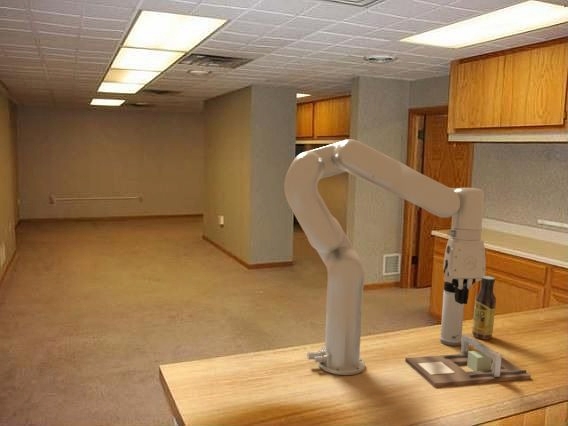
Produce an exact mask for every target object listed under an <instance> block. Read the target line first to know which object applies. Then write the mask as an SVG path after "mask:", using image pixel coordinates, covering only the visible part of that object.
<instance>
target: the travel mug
mask: <svg viewBox="0 0 568 426" xmlns="http://www.w3.org/2000/svg"><path fill="white" fill-rule="evenodd" d="M443 286H444V287H443V295H442V310H441V324H440V325H441V326H440V338H439V341H440V343H442V344H443V345H445V346H451V347H458V346H460V345H461V342H462V334H463V325H464V324H463V323H464V311H465V310H464V309H465V304H460V303H458V302H456V301H455V287H454V286H453V284H452V283H450V282H446V281H444V285H443Z"/></svg>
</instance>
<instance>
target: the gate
mask: <svg viewBox="0 0 568 426" xmlns="http://www.w3.org/2000/svg"><path fill="white" fill-rule="evenodd" d="M469 346H472V347H473V348H475V349H476V350H477V351H481V352H482V353H484V354H486V355H487V356H489V357H490V358H492V359H493V362H492V364H491V370H492V376H494V377H499V376H500V368H501V357H502V356H503V355H501V354H500V353H499V352H498V353H497V351H496V350H494V349H492V348H491V347H488V346H487V345H486V344H484V343H482V342H480V341H479V340H477V339H476V338H475V337H474V336H473V337H472V335H469V334H468V333H465V334H463V333H462V339H461V346H460V354H462V355H463V354H468V351H469Z"/></svg>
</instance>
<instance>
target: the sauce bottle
mask: <svg viewBox="0 0 568 426" xmlns="http://www.w3.org/2000/svg"><path fill="white" fill-rule="evenodd" d="M480 282H481V284H480V289H479V291H478V294H477V296H476V298H475V300H474V309H473V316H472V317H473V318H472V327H471V330H472V333H471V335H472V336H473V338H477V339H479V340H490V339H491V338H493V333H494V323H495V315H496V302H497V298H496V296H495V293H494V285H495V282H496V279H495V277H494V276H488V275H484V277H482V280H481V281H480Z"/></svg>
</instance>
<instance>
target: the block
mask: <svg viewBox="0 0 568 426" xmlns="http://www.w3.org/2000/svg"><path fill="white" fill-rule="evenodd" d="M466 366H467V368H469V369H471V370H472V371H483V370H492V358H490V357H489V356H487V355H486V354H484V353H482V352H481V351H479V350H470V351H469V350H468V361H467V364H466Z"/></svg>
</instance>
